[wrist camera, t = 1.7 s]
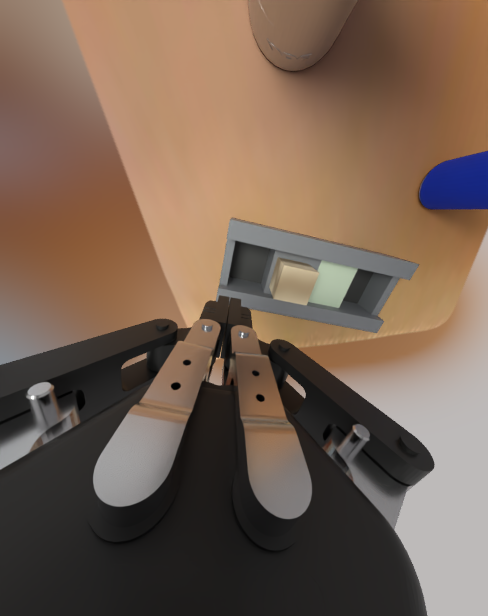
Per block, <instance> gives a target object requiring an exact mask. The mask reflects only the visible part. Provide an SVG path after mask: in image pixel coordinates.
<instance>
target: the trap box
mask: <svg viewBox="0 0 488 616" xmlns="http://www.w3.org/2000/svg"><path fill="white" fill-rule="evenodd" d="M278 257H280V258H284V259H289V260H293V261H298V262H302V263H307V264H309V265H310V266H312V267H313V268H314V269H315V270H317V271H318V272H319V276H318V278H317V280H316V283H315V285H314V288H313V290H312V293H311V295H310V298H309V300H308V303H307V305H301V304H296V303H291V302H286V301H281V300H276V299H273V296H272V293H271V291H270V288H269V285H270V282H271V279H272V275H273V272H274V268H275V265H276V261H277V258H278ZM418 266H419V264H416V263H413V262H410V261H406V260H403V259H400V258H396V257H393V256H390V255H386V254H382V253H378V252H374V251H369V250H365V249H361V248H357V247H353V246H349V245H344V244H340V243H336V242H332V241H328V240H324V239H319V238H315V237H311V236H307V235H303V234H299V233H294V232H290V231H286V230H282V229H278V228H274V227H269V226H265V225H261V224H257V223H253V222H249V221H244V220H240V219H236V218H231V219H230V222H229V228H228V234H227V243H226V249H225V255H224V260H223V266H222V272H221V278H220V284H219V287H218V292H217V298H216V302H218V298H219V295H222V296H227V297H230V298H231V297H232V298H237V299H241V306H242V307H247V308H248V309H253V310H259V311H264V312H269V313H274V314H280V315H285V316H290V317H295V318H301V319H306V320H311V321H316V322H322V323H327V324H332V325H337V326H343V327H348V328H353V329H358V330H363V331H369V332H374V333H377V332H378V330H379V329H380V327H381V326H382V324H383V322H384V321H383V320H382V319H381V318H380V317H378V314H379V312H380V311H381V309H382V307H383V306H384V304H385V302H386V301H387V299H388V297H389V296H390V294H391V292H392V291H393V289H394V287H395V285H396V284H397V282H398V280H399V279H400V278H402V279H407V280H410V279H411V277H412V276H413V274H414V272H415V271H416V269H417V268H418ZM229 302H230V299H229Z"/></svg>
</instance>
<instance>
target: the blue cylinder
mask: <svg viewBox="0 0 488 616" xmlns="http://www.w3.org/2000/svg"><path fill="white" fill-rule="evenodd" d="M419 198H420V201H421V203H422V205H423V206H424V207H426V208H428V209H488V151H485V152H481V153H477V154H473V155H469V156H464V157H460V158H456V159H452V160H448V161H445V162H442V163H440V164H438V165H437V166H436V167H434V168H433V169H432V170H431V171H430V172H429V173H428V174H427V176H426V177H425V178H424V180H423V182H422V184H421V186H420V190H419Z"/></svg>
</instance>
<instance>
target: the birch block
mask: <svg viewBox="0 0 488 616" xmlns="http://www.w3.org/2000/svg"><path fill="white" fill-rule="evenodd" d="M318 276H319V272H318V271H317V270H315V269H314V268H313V267H312V266H310V265H309V264H307V263H302V262H298V261H293V260H289V259H284V258H280V257H278V258H277V261H276V265H275V268H274V272H273V275H272V279H271V282H270V285H269V288H270V291H271V293H272V296H273V299H276V300H281V301H286V302H291V303H296V304H301V305H307V303H308V300H309V298H310V295H311V293H312V290H313V288H314V285H315V283H316V280H317V278H318Z"/></svg>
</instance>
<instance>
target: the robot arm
mask: <svg viewBox="0 0 488 616" xmlns="http://www.w3.org/2000/svg"><path fill="white" fill-rule="evenodd" d="M357 1H358V0H248V8H249V16H250V23H251V26H252V30H253V34H254V37H255V39H256V41H257V43H258V46H259V48H260V49H261V51H262V52H263V53H264V55H265V56H266V58H267V59H268V60H270V61H271V62H272V63H273V64H274V65H276V66H278V67H279V68H281V69H283V70H289V71H297V70H303V69H306V68H308V67H310V66H312V65H314V64H315V63H316V62H318V61H319V60H320V59H321V58H322V57H323V56H324V55H325V54H326V53H327V52H328V50H329V49H330V48H331V46H332V45H333V43H334V41H335V40H336V38H337V37H338V35H339V33H340V31H341V29H342V28H343V26H344V24H345V22H346V20H347V19H348V17H349V15H350V13H351V11H352V10H353V8H354V6H355V4H356V3H357ZM229 299H230V302H229ZM222 342H223V343H222ZM221 347H222V350H221ZM146 352H147V358H146V359H144V360H142V361H139V362H137V363H135V364H133V365H130V366H128V367H126V368H124V369H121V367H122V365H123V364H124V363H125V362H126V361H128V360H129V359H132V358H134V357H136V356H139V355H141V354H144V353H146ZM220 352H221V357H220V358H224V364H223V369H222V385H221V386H218V385H214V384H212V383H209V379H210V376H211V373H212V369H213V364H214V363H215V361H216V357H217V358H219V356H220ZM288 374H289V375H290V376H291V377H292V378H293V379H294V380H296V381H297V382H298V383H299V384H300V385H301V386H302V387H303V388H304V390H305V392H306V398H305V399H304V398H303V397H302V396H301V395H300V394H299V393H298V392H297V391H296V390H295V389H294V388H293V387H292V386H290V385H289V384H288V383H287V382H286V378H287V376H288ZM433 469H434V461H433V458H432V456H431V454H430V453H429V451H428V450H427V448H426V447H425V446H424V445H423V444H422V443H421V442H420V441H419V440H418V439H417V438H416V437H415V436H413V435H412V434H411V433H409V432H408V431H407V430H405V429H404V428H403V427H401V426H400V425H399V424H397V423H396V422H395V421H393V420H392V419H391V418H389V417H388V416H387V415H385V414H384V413H383V412H381V411H380V410H379V409H377V408H376V407H375V406H373V405H372V404H371V403H369V402H368V401H367V400H365V399H364V398H363V397H361V396H360V395H359V394H357V393H356V392H355V391H353V390H352V389H351V388H349V387H348V386H347V385H345V384H344V383H343V382H342V381H340V380H339V379H338V378H336V377H335V376H333V375H332V374H331V373H330V372H328V371H327V370H325V369H324V368H323V367H322V366H320V365H319V364H318V363H316V362H315V361H314V360H312V359H311V358H310V357H308V356H307V355H306V354H304V353H303V352H302V351H300V350H299V349H298V348H296V347H295V346H294V345H292V344H291V343H289V342H287V341H285V340H280V339H276V340H273V341H272V342H271V344H267V343H265V342H262V341H260V340H259V339H258V338H257V334H256V332H255V331H254V330H253V329H252V320H251V311H250V310H249V309H248V308H247V307H242V306H241V299H237V298H232V297H231V298H230V297H227V296H222V295H219V298H218V302H216V301H211V300H210V301H208V302H207V303H206V304H205V306H204V309H203V312H202V314H201V317H200V319H199V320H197V321H196V322H195V323H194V324H193V326H192V327H191V328H181V329H178V326H177V324H176V323H175V322H173V321H172V320H169V319H156V320H152V321H149V322H145V323H142V324H139V325H135V326H132V327H128V328H125V329H122V330H118V331H115V332H111V333H108V334H105V335H101V336H98V337H94V338H91V339H87V340H84V341H81V342H77V343H74V344H71V345H67V346H64V347H60V348H57V349H54V350H50V351H47V352H43V353H40V354H37V355H33V356H30V357H26V358H23V359H20V360H16V361H13V362H10V363H6V364H3V365H0V616H427V611H426V606H425V602H424V597H423V593H422V589H421V586H420V583H419V580H418V577H417V575H416V572H415V569H414V566H413V564H412V562H411V560H410V558H409V555H408V553H407V551H406V550H405V548H404V546H403V544H402V542H401V540H400V539H399V537H398V535H397V534H396V533H395V531H394V528H395V525H396V522H397V519H398V516H399V512H400V509H401V506H402V503H403V500H404V497H405V494H406V492H407V491H408V490H409V489H411V488H412V487H413V486H414V485H415V484H416V483H417V482H419V481H420V480H421V479H422V478H424V477H425V476H426V475H427V474H428V473H430V472H431V471H432V470H433Z"/></svg>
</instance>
